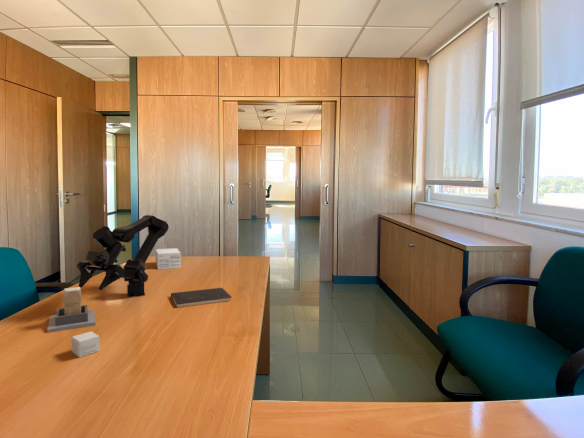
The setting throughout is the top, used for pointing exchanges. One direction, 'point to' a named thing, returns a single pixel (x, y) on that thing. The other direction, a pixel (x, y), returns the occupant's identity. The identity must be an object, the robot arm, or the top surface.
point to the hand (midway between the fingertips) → (89, 288)
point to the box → (72, 301)
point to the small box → (85, 344)
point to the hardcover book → (200, 297)
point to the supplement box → (168, 258)
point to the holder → (71, 320)
